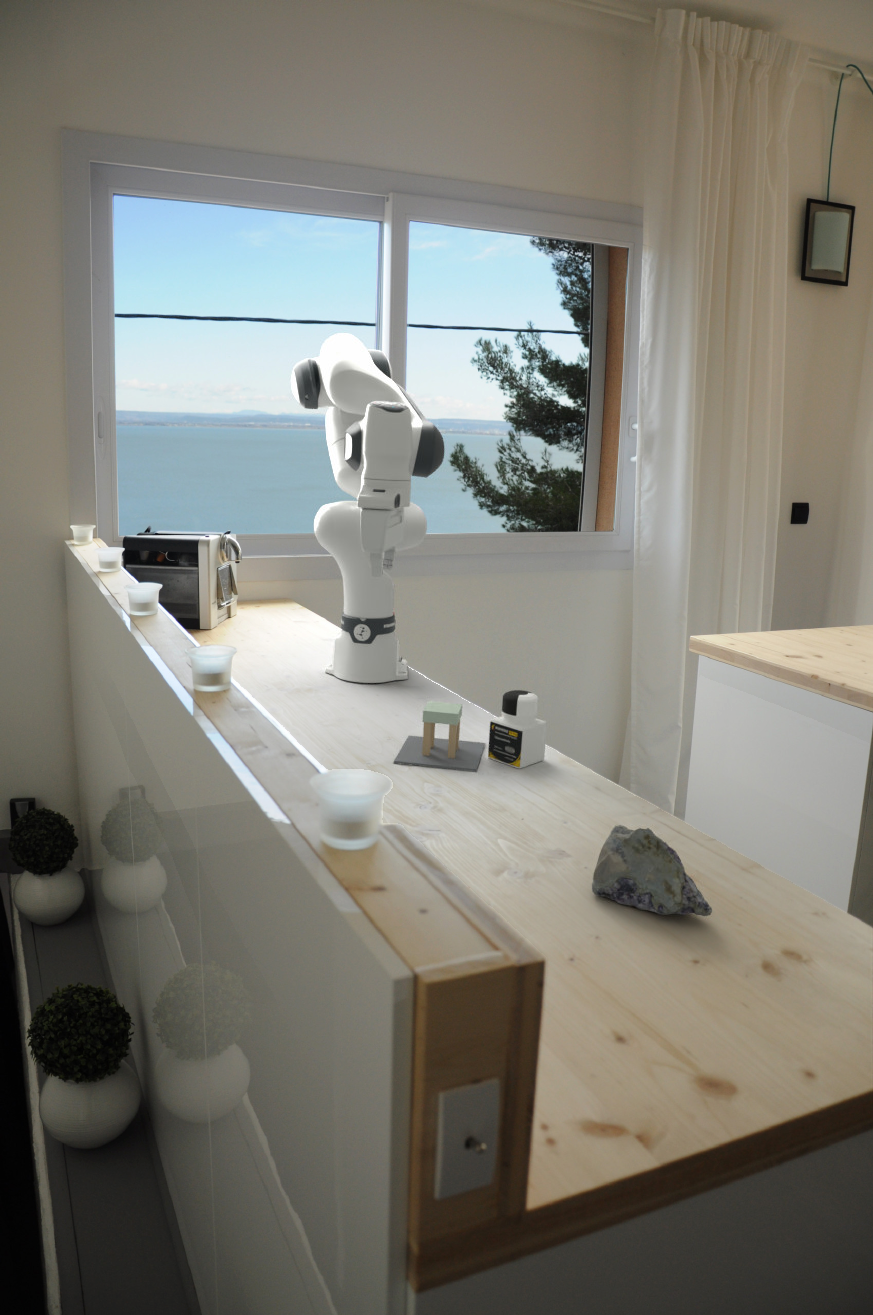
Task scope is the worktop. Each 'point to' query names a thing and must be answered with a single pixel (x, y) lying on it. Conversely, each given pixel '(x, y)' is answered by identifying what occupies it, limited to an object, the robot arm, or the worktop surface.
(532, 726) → the medicine bottle
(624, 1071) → the worktop surface
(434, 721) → the stool
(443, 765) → the mat
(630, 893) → the mineral rock
